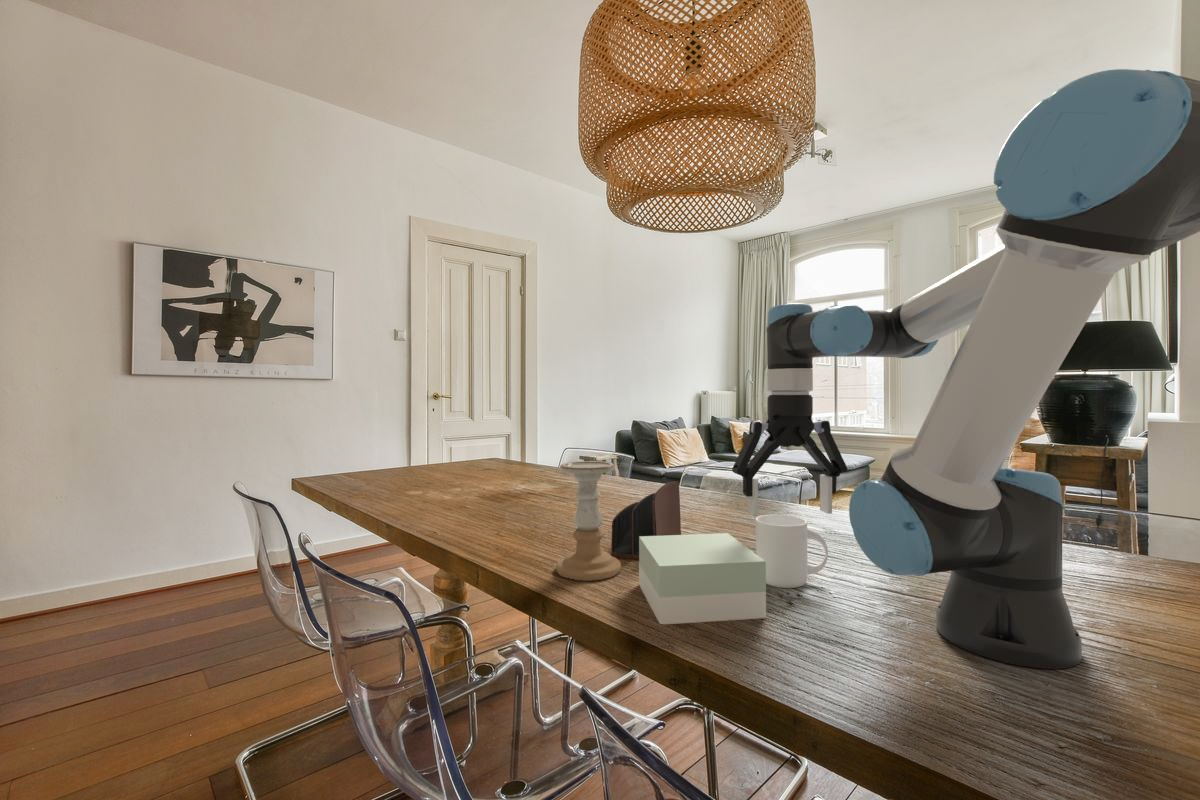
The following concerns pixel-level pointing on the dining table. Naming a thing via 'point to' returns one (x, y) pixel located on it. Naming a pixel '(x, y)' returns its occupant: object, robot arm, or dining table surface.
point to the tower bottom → (702, 605)
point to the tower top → (701, 565)
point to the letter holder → (646, 521)
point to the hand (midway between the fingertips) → (789, 513)
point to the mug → (786, 549)
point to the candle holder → (588, 527)
